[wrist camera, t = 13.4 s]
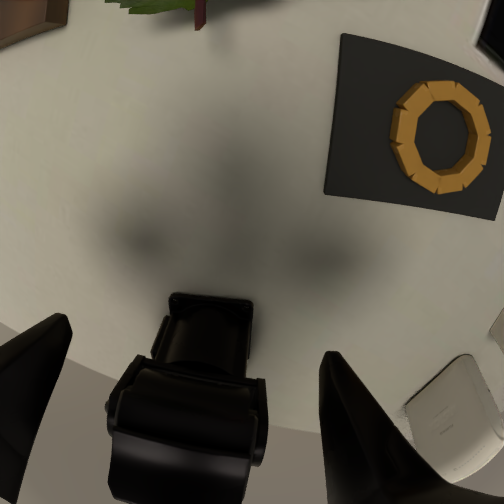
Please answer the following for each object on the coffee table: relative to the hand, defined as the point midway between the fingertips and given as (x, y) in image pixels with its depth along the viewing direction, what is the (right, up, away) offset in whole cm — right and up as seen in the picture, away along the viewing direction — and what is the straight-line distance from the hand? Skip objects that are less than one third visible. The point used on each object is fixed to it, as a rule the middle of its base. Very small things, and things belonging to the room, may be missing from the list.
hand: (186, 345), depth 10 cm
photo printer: (+23, -12, +19) cm, 33 cm away
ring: (+14, +10, +6) cm, 18 cm away
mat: (+14, +11, +7) cm, 19 cm away
